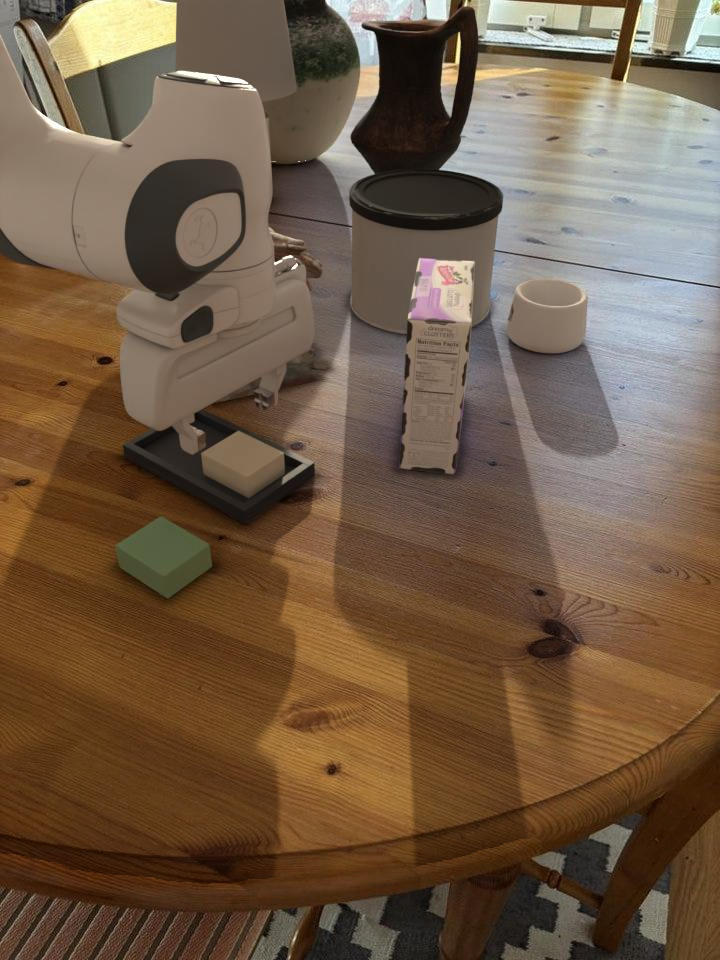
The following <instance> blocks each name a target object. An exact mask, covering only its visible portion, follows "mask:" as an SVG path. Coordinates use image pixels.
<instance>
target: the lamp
mask: <svg viewBox="0 0 720 960" xmlns="http://www.w3.org/2000/svg"><path fill="white" fill-rule="evenodd" d="M175 10H176V12H175V13H176V16H175V20H176V21H175V68H174V69H175V70H174V71H188V72H197V73H202V74H212V75H218V76H225V77H232V78H237V79H241V80H243V81H245V82H247V83H249V84H250V85H251V86H252V87H254V88H255V89H256V90H257V92H258V93H259V96H260V99H261V102H264V101H271V100H276V99H280V98H284V97H287V96H289V95H291V94H293V93H294V92H295V91H296V90H297V85H296V79H295V72H294V65H293V58H292V51H291V45H290V38H289V31H288V25H287V19H286V13H285V6H284V0H176V9H175ZM264 113H265V118H266V124H267V130H268V137H269V146H270V157H271V145H270V125H269V115H268V114H267V113H266V112H264ZM272 170H273V168H272V165H271V172H272V173H273V171H272ZM273 188H274V187H273V186H272V196H273V194H274V189H273Z"/></svg>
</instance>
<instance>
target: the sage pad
mask: <svg viewBox="0 0 720 960" xmlns="http://www.w3.org/2000/svg"><path fill="white" fill-rule="evenodd" d="M115 551H116V556H117V557H116V558H117V562H118V567H119V568H120V569H121V570H123V571H124V572H126V573H127V574H129V575H130V576H132V577H133V578H134V579H137V580H138V581H140V582H141V583H143V584H144V585H146V586H147V587H149V588H151V589H152V590H153V591H155V592H156V593H158V594H160V595H161V596H163V597H164V598H166V599H170V598H171V597H172V596H174V595H175V594H177V593H178V592H179V591H181V590H182V589H184V588H185V587H187V586H188V585H189V584H190V583H192V582H193V581H194V580H196V579H197V578H199V577H200V576H202V575H203V574H205V573H206V572H207V571H208V570H210V569H212V567H213V560H212V553H211V552H212V551H211V544H210V543H208V542H206V541H205V540H203V539H201V538H200V537H198V536H196V535H194V534H193V533H191V532H190V531H187V530H186V529H184V528H183V527H181V526H180V525H178V524H176V523H174V522H172V521H171V520H170V519H167V518H165V516H162V515H160V516H159V517H157V518H156V519H154V520H152V521H150V522H149V523H148V524H146V525H144V526H143V527H141V528H140V529H138V530H137V531H135V532H134V533H132V534H131V535H129V536H127V537H126V538H124V539H122V540H121V541H119V542H118V543H116V544H115Z"/></svg>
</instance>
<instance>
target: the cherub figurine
mask: <svg viewBox="0 0 720 960" xmlns="http://www.w3.org/2000/svg"><path fill="white" fill-rule="evenodd" d="M269 230H270V234H271V237H272V239H273V244H274V262H278V261H279V260H280V259H282V258H284V257H287V256H293V257H294V258H295V259H299V260H300V261H301V262H302V263H303V265H305V267H306V285H307V286H308V289H309V291H310V292H311V291H312V288H313V287H312V285H311V283H310V281H309V280H308V279H319V278H321V277H322V275H323V268H322V267H323V264H322V262H321V261H319V260H318V259H317V258H315V257H314V256H313V255H311V254H310V253H308V252H306V251H307V246H306V243H305V241H304V240H303V239H297V238H293V237H289V236H287V235H284V234H280V233H277V232H275V231H274V229H273V228H272V227H271V226H269ZM315 356H316V350H315V349H314V348H312V347H311V348H310V350H309V351H308V352H306V353H304V354H302V355H300V356H298V357H297V358H295V359H293V360H291V361H289V362H287V363H286V373H285V376H284V378H283V381H282V383H281V386H280V388H279V390H280V389H284V388H288V387H289V388H290V387H292V386H296V385H301V384H305V383H311V382H314V381H318V380H320V379H319V378H318V377H317V375H316V373H315V371H314V370H312V369H318V370H325V371H328V370H329V369H328V368H327V367H326V366H325V365H324V364H323V362H321V363H319V364H315V365H314V362H315ZM261 378H262V377H260V378H258V379H256V380H254V381H253V382H251V383H249V384H247V385H245V386H243V387H242V388H240V389H238V390H236V391H234V392H232V393H231V394H229V395H227V396H225V397H223V398H221V399H220V400H218V401H216V402H215V403H216V404H218V403H220V402H222V403H224V402H228V401H233V400H236V399H241V398H246V397H249V396H254V390H255V389H257V388H259V386H260V382H261Z"/></svg>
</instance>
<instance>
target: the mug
mask: <svg viewBox="0 0 720 960" xmlns="http://www.w3.org/2000/svg"><path fill="white" fill-rule="evenodd" d="M588 299H589V297H588V294H587V292H586V291H585V290H584V289H583V288H582V287H580V286H578V285H576V284H574V283H572V282H569V281H565V280H561V279H557V278H556V279H555V278H534V279H530V280H526V281H524V282H521V283H520V284H519V285H517V286H516V288H515V290H514V293H513V298H512V301H511V306H510V310H509V314H508V317H507V321H506V329H505V330H506V334H507V336H508V338H509V339H510V340H511V342H512V343H513V344H515V345H517V346H518V347H519V348H520V347H521V348H523V349H525V350H527V351H531V352H535V353H541V354H561V353H562V354H563V353H567V352H570V351H573V350H575V349H577V348H579V346H580V345H582V344H583V342H584V340H585V337H586V333H587V320H588V319H587V317H588V302H589V300H588Z"/></svg>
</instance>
